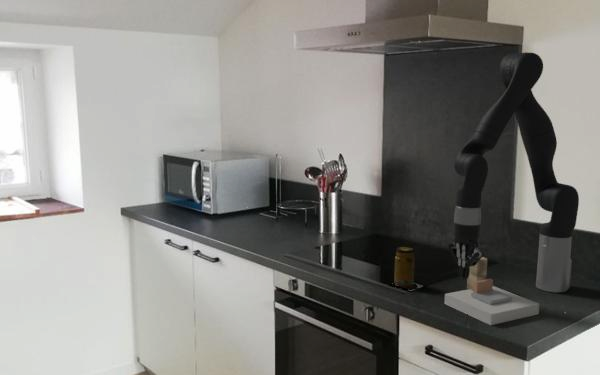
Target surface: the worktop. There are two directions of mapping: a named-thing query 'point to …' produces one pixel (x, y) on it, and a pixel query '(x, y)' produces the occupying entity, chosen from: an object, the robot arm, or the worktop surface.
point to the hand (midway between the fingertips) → (463, 278)
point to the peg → (477, 272)
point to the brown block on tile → (488, 292)
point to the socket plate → (492, 307)
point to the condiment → (405, 268)
